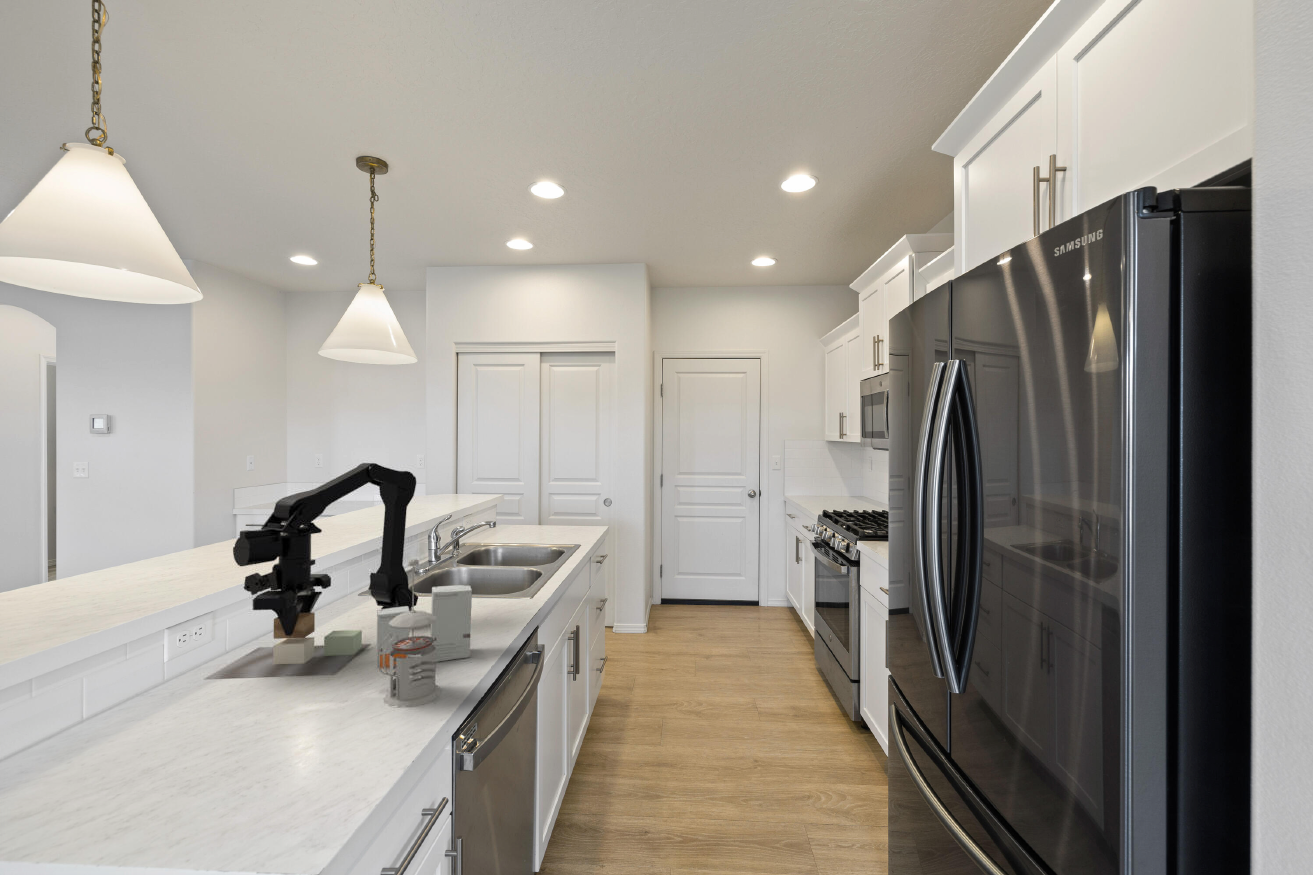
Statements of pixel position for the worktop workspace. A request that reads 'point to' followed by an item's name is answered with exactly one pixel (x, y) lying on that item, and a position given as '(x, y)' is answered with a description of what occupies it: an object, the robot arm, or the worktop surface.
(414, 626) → the french press
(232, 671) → the slate board
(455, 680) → the worktop surface
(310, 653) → the cream brick
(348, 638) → the sage brick
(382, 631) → the skincare box
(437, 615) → the skincare box
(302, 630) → the walnut brick
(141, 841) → the worktop surface
